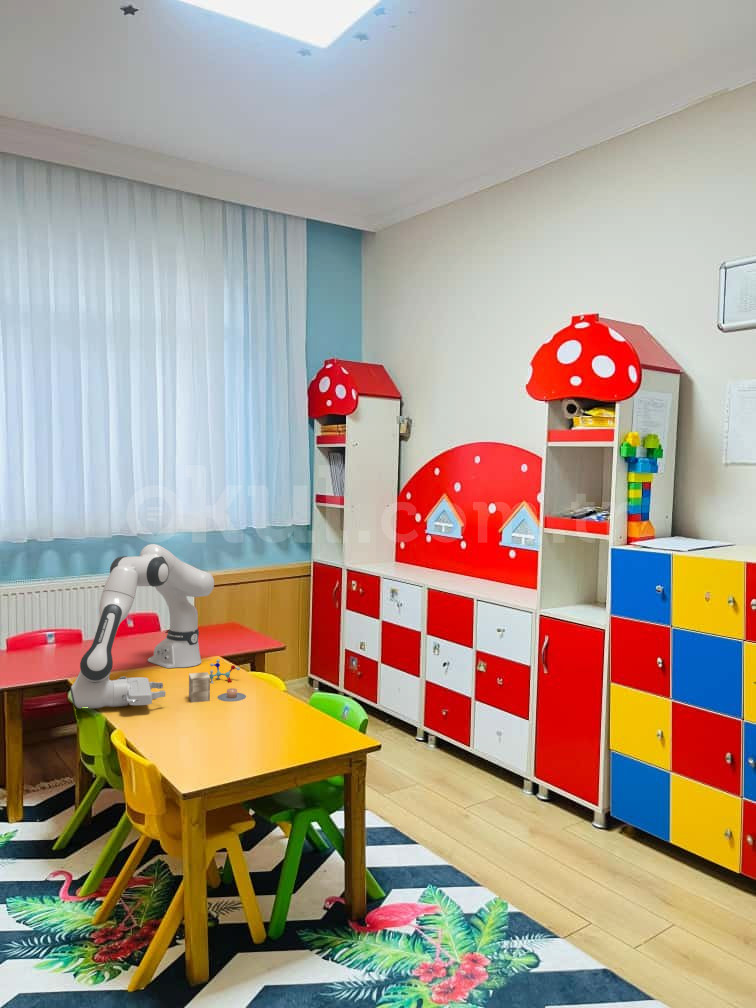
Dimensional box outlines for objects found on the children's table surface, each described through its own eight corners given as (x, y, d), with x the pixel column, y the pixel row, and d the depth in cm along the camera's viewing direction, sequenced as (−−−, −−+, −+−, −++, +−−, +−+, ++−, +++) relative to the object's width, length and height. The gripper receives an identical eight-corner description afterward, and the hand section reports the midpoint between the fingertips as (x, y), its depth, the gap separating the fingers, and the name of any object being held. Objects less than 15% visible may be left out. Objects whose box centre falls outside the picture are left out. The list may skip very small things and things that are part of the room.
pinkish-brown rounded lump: (224, 697, 278) (224, 690, 278) (231, 694, 281) (231, 687, 281) (232, 699, 276) (232, 692, 276) (239, 696, 279) (239, 689, 279)
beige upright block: (191, 704, 271) (191, 678, 271) (188, 698, 277) (189, 673, 277) (209, 702, 274) (209, 677, 273) (207, 696, 280) (207, 672, 279)
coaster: (211, 699, 277) (211, 698, 277) (230, 692, 285) (230, 690, 285) (233, 704, 272) (233, 703, 272) (251, 697, 280) (251, 695, 280)
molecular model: (210, 679, 289) (213, 653, 294) (200, 686, 295) (202, 660, 300) (239, 684, 294) (241, 658, 299) (228, 691, 301) (230, 665, 306)
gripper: (123, 692, 256) (166, 689, 261) (120, 675, 275) (161, 672, 280) (123, 711, 257) (166, 707, 262) (120, 692, 276) (161, 689, 281)
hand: (164, 689), depth 271 cm, fingers open, 8 cm apart
